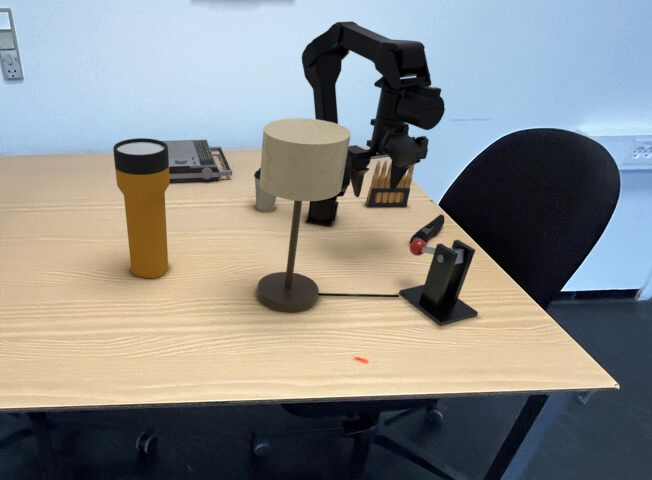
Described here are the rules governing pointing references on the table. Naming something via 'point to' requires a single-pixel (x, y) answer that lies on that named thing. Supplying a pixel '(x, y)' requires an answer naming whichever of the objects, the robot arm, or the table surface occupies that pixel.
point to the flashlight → (144, 202)
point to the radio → (194, 162)
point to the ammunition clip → (388, 189)
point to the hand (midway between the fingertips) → (374, 193)
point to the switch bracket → (443, 286)
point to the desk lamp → (300, 195)
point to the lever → (432, 250)
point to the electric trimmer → (429, 229)
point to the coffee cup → (263, 196)
